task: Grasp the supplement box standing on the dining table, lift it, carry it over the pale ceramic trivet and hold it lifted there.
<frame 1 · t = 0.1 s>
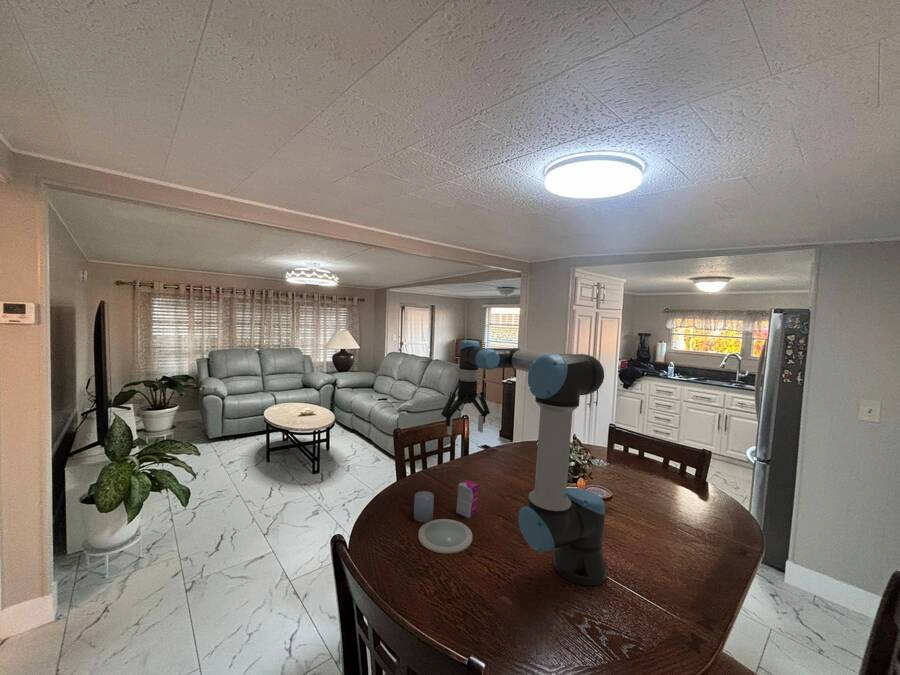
hand: (465, 433, 148), 28 cm above the table, fingers open, 13 cm apart
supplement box: (466, 514, 140), on the table
trivet: (445, 536, 125), on the table
cylinder block: (423, 517, 137), on the table
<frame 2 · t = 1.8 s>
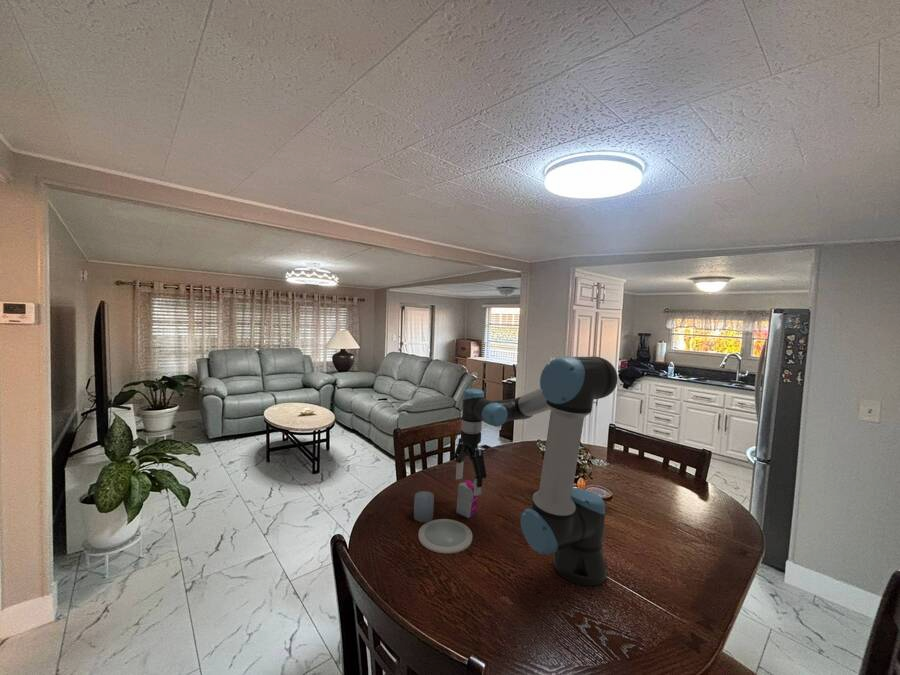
hand: (467, 486, 140), 10 cm above the table, fingers open, 13 cm apart
nothing on the table moved.
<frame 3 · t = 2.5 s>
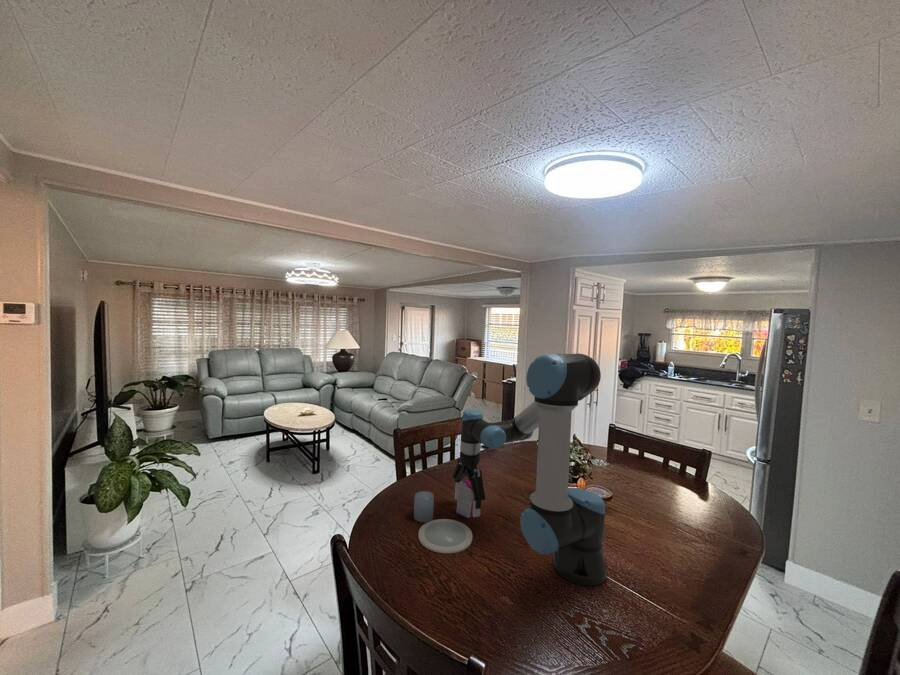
hand: (466, 507, 140), 2 cm above the table, fingers open, 13 cm apart
nothing on the table moved.
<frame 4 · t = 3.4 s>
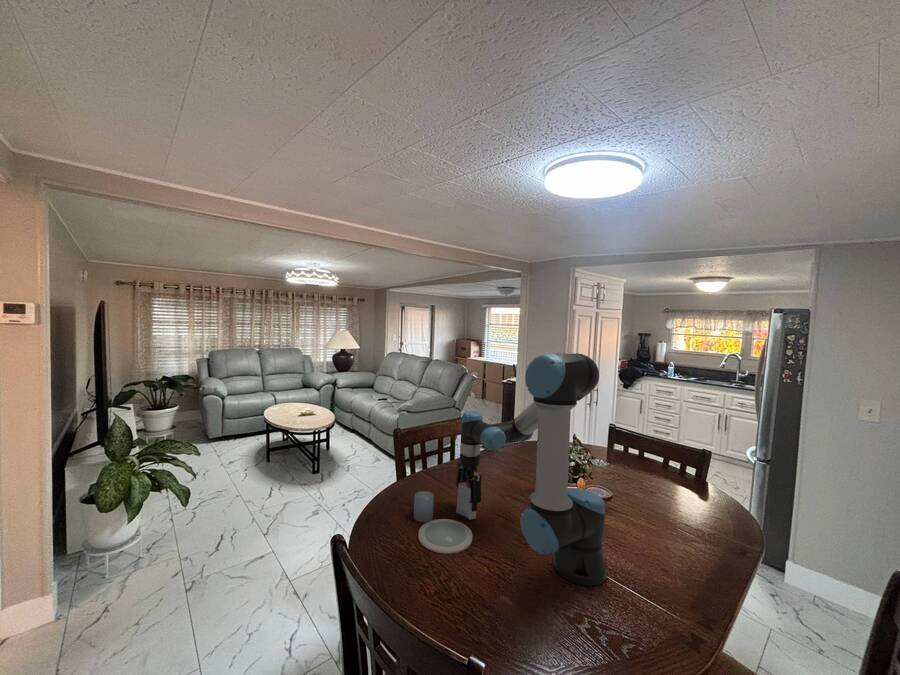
hand: (466, 512, 140), 0 cm above the table, fingers closed on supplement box, 7 cm apart
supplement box: (466, 514, 140), on the table, touching gripper
everything else where it was.
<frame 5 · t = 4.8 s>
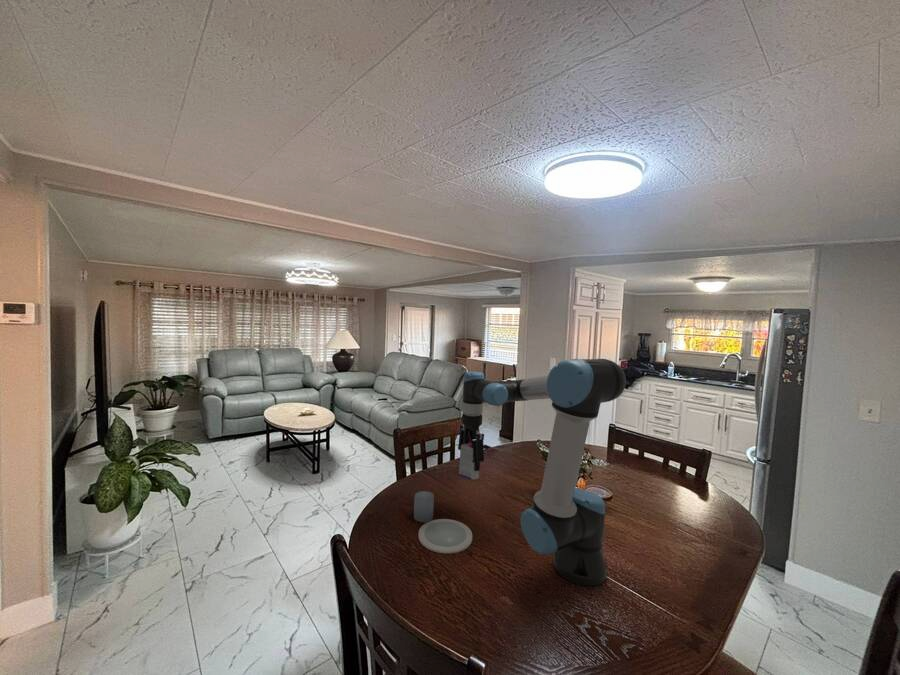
hand: (469, 474, 139), 15 cm above the table, fingers closed on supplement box, 7 cm apart
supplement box: (469, 475, 139), point 15 cm above the table, touching gripper
everything else where it was.
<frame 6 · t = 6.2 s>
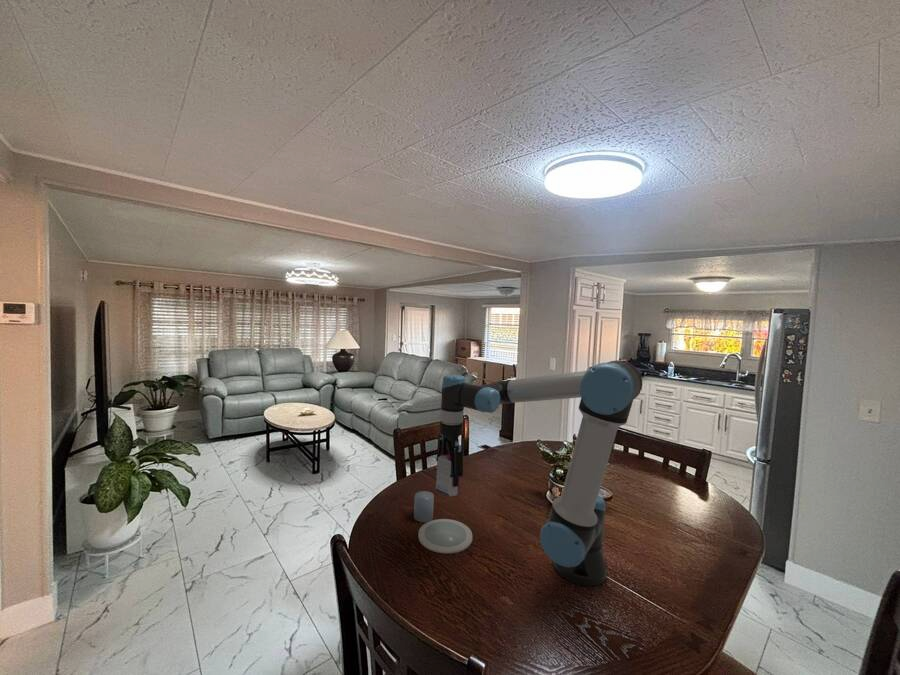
hand: (447, 489, 124), 16 cm above the table, fingers closed on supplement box, 7 cm apart
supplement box: (447, 491, 124), point 16 cm above the table, touching gripper
everything else where it was.
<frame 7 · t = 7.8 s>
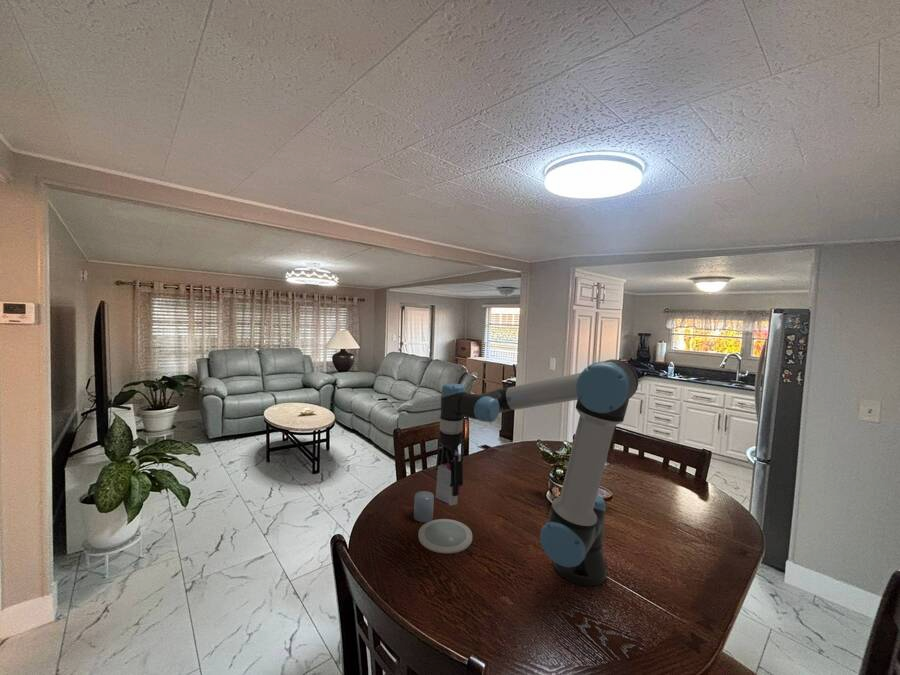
hand: (447, 498, 124), 13 cm above the table, fingers closed on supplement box, 7 cm apart
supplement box: (447, 500, 124), point 13 cm above the table, touching gripper
everything else where it was.
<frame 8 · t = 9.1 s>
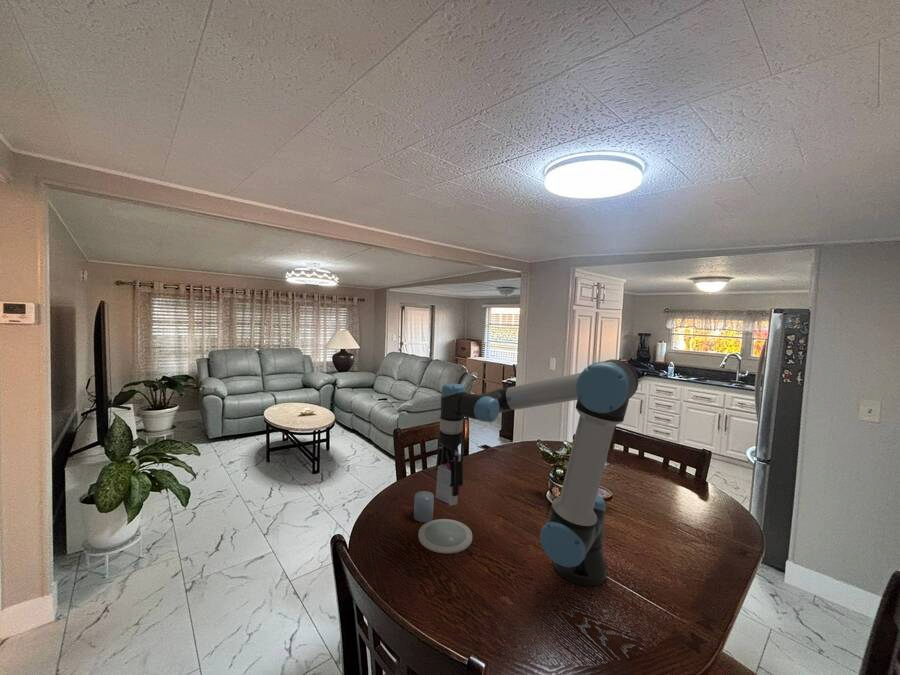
hand: (447, 498, 124), 13 cm above the table, fingers closed on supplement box, 7 cm apart
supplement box: (447, 500, 124), point 13 cm above the table, touching gripper
everything else where it was.
at the end: the gripper is holding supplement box; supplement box point 12.5 cm above the table; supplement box 0.1 cm from the trivet (horizontally) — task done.
